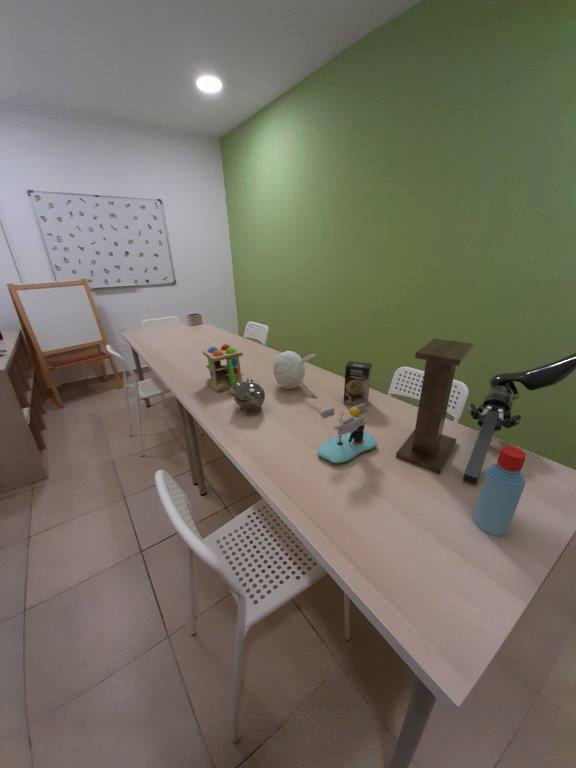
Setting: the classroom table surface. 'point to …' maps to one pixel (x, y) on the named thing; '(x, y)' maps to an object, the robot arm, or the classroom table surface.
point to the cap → (511, 458)
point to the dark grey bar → (481, 447)
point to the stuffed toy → (291, 370)
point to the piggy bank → (248, 396)
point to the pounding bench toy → (223, 367)
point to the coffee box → (357, 383)
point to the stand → (434, 405)
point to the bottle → (498, 499)
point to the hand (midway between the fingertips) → (488, 426)
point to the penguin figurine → (347, 437)
